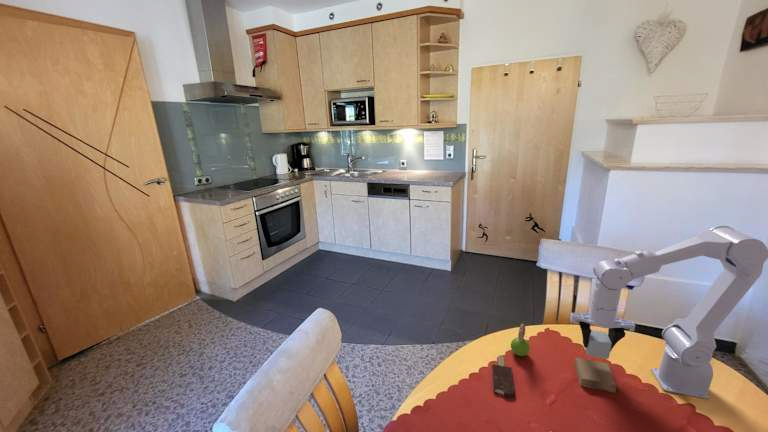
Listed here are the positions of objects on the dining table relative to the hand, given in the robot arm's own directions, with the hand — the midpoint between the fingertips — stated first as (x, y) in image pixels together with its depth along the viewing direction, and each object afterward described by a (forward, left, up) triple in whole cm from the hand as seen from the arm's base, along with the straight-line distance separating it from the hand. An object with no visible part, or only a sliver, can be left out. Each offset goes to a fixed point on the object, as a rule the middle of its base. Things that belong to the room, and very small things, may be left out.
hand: (596, 347), depth 89 cm
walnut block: (0, +3, -9) cm, 9 cm away
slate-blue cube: (0, 0, -2) cm, 2 cm away
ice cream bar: (+24, +9, -9) cm, 27 cm away
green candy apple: (+19, -1, -9) cm, 21 cm away
